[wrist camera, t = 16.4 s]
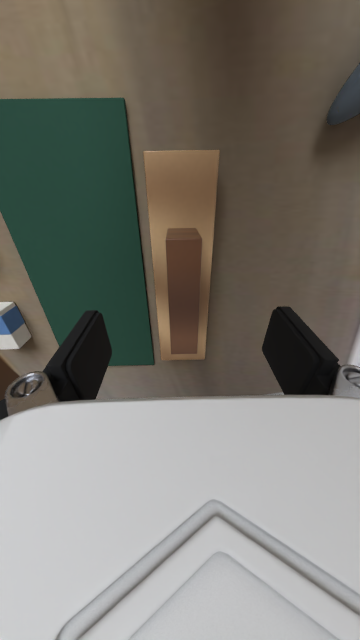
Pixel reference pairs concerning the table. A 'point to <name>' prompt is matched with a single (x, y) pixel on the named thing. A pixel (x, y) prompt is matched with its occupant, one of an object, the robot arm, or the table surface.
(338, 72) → the table surface
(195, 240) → the scrub brush
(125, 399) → the robot arm
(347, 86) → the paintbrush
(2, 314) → the eraser
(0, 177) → the desk mat
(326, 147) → the table surface
